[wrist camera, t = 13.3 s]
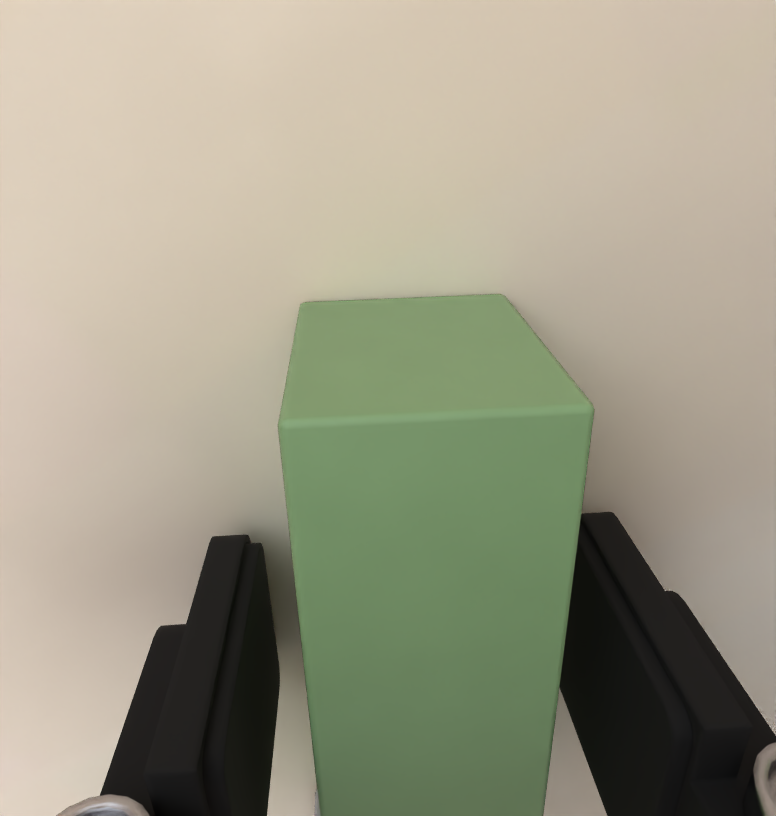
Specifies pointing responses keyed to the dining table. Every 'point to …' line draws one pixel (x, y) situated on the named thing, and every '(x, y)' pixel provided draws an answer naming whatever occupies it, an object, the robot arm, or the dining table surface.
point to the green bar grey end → (431, 550)
